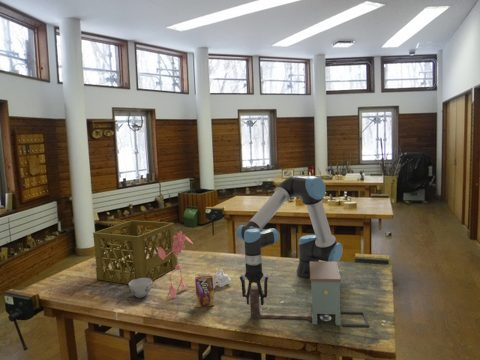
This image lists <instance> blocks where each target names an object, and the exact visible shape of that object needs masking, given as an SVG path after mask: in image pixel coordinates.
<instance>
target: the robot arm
mask: <svg viewBox="0 0 480 360" xmlns="http://www.w3.org/2000/svg"><path fill="white" fill-rule="evenodd" d="M326 189H327V188H326V184H325V181H324V180H323V179H322V178H321V177H319V176H315V175H309V176H307V175H292V176H289V177H288V178H286V179H284V180H282V182H280V183H279V184H278V185H277V186H276V187H275V189H274V193H273V194H272V195H271V196H270V197H269V198H268V200H266V202H265V203H264V204H263V205H262V206H261V208H260V209H259V210H258V211H257V212H256V213H255V214H254V215H253V216H252V218H251V219H250V220H249V221H248V222H247V223H246V224H242V225H239V226H238V227H237V229H236V236H237V238H238V239H239V240H242V241H243V242H244V258H245V274H241V275H240V276H239V279H240V283H241V293H242V295H241V297H242V298H245V299H246V305H249V306H248V309H249V313H251V307H250V288H251V286H253V285H252V284H253V283H255V284H256V286H258V289H259V294H260V297H259V312H260V313H262V311H263V307H262V306H263V305H264V304H265V301H264V299H265V298H266V299H267V298H268V280H269V275H268V274H264V273H263V265H262V264H263V263H262V248H263V249H264V248H266V247H269V246H272V245H275V244H277V243H278V242H279V240H280V233H279V231H278V230H277V229H276V228H273V227H272V228H271V227H270V228H266V229H265V226H266V225H267V224H268V223H269V222H270V221H271V219H272V218H273V217H274V215H275V214H276V213H277V212H278V211H279V210H280V209H281V207H282V206H283V205H284V204H285V203H286V202H289V200H291V199H292V198H300V199H301V202H302V204H303V205H304V206H306V209H307V212H308V215H309V218H310V222H311V225H312V228H313V232H314V234H307V235H303V236H301V237H299V238H298V244H297V245H298V260H299V261H298V264H297V268H296V276H298V277H300V278H304V279H310V261H313V262H320V261H321V262H337V263H338V262H339V261H340V260H341V258H342V255H343V251H344V250H343V248H344V247H343V244H342V243H340V242H338V241H337V239H336V236H335V235H333V234H332V232H331V229H330V228H331V227H330V224H329V222H328V218H327V214H326V211H325V208H324V204H323V200H324V197H325V195H326ZM262 279H263V283H264V284H263V285H264V287H263V288H264V289H263V288H262V284H261V280H262ZM245 280H247V281H248V285H247V290H246V281H245ZM263 291H264V292H263Z"/></svg>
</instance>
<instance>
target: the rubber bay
mask: <svg viewBox="0 0 480 360" xmlns="http://www.w3.org/2000/svg"><path fill="white" fill-rule="evenodd" d="M340 314H348V315H349V314H351V315H355V314H356V315H362V317H363V319H364V322H365V323H351V322H350V323H349V322H344V323H342V327H360V328H361V327H362V328H363V327H364V328H365V327H366V328H367V327H368V328H369V327H370V324H369V321H368V318H367V314H366V311H363V310H362V311H359V310H354V311H353V310H340Z"/></svg>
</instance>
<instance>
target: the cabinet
mask: <svg viewBox="0 0 480 360" xmlns="http://www.w3.org/2000/svg"><path fill="white" fill-rule="evenodd" d="M309 279H310V280H309V281H310V283H311V284H310V287H311V288H310V289H311V311H312V312H311V320H312V325H318V314H319V315H335V326H341V313H340V311H341V290H340V289H341V285H340V284H341V283H342V278H341V274H340V271H339V266H338V262H326V261H319V262H313V261H310V278H309Z"/></svg>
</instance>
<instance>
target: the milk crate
mask: <svg viewBox="0 0 480 360" xmlns="http://www.w3.org/2000/svg"><path fill="white" fill-rule="evenodd" d="M174 225H175V222H166V221H165V222H163V221H150V220H137V219H136V220H135V219H134V220H127V221H125V222H121V223H118V224H115V225H113V226H109V227H106V228H104V229H100V230H98V231H94V232H92V234H93V236H92V238H93V246H94V247H93V248H94V255H95V256H94V258H95V265H96V266H95V271H96V272H95V273H96V280H100V281H106V282H111V283H112V282H113V283H119V284H126V285H129V282H130V281H132V280H135V279H139V278H149V279H151V280H152V281H154V280H156V279H159V278H160V277H162V276H163V275H165V274H167V273H168V272H170V271H171V270H173V269H174V270H175V266H176V265H178V264H177V258H178V257H177V258H176V256H177V255H176V256H175V254H176V251H174V253H175V254H174V253H173V252H172V253H170V252H171V251H172V248H173V243H174V240H173V236H175V226H174ZM140 226H143V227H142V229H141V227H140ZM147 227H157V228H156V229H153V230H151V229H147ZM124 228H125V230H124ZM117 230H119V233H117V234H114V233H111V232H114V231H117ZM144 230H145V231H146V233H144ZM160 233H161V234H160ZM153 237H154V240H153ZM115 241H116V243H115ZM164 242H165V243H164ZM163 243H164V244H163ZM107 245H109V247H108V246H107ZM157 246H158V248H157ZM159 247H161V248H162V249H163V250H164V251H165V255H168V254H169V253H170V254H169V255H168V256H167V257H165V259H164V260H162V259H161V258H160V257H159V255H158V249H159ZM154 252H155V253H154ZM147 257H148V258H147ZM109 265H110V266H111V268H110V266H109Z"/></svg>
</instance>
